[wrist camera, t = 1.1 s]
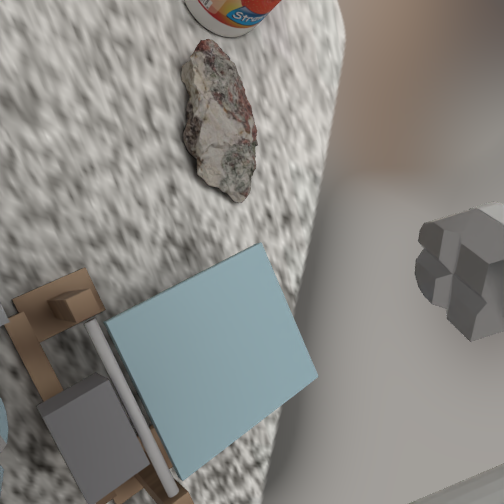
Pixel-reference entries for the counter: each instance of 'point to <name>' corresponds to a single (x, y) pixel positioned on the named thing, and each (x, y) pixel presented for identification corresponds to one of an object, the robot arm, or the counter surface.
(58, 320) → the post frame
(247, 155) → the mineral rock
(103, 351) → the trapdoor
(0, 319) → the basalt block
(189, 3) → the fruit juice
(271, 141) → the counter surface
